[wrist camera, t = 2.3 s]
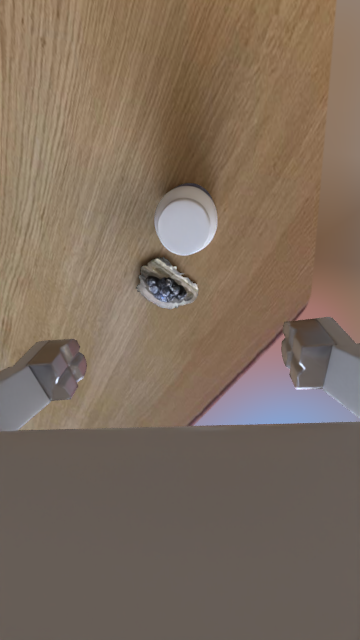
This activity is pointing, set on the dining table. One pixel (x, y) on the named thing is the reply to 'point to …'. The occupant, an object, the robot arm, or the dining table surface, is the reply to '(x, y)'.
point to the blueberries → (165, 285)
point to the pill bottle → (186, 219)
